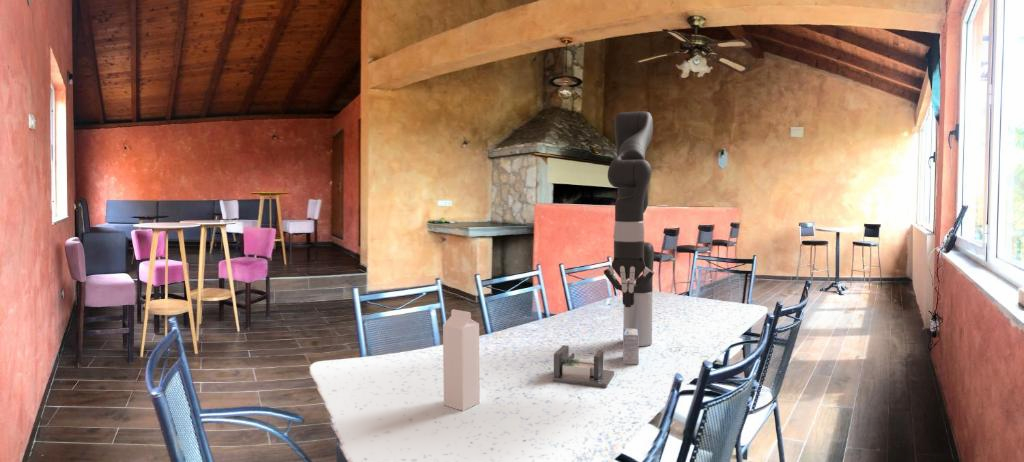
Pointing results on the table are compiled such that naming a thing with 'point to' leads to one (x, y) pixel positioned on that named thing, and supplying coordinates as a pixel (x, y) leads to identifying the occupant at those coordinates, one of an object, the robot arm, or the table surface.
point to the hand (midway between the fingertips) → (628, 306)
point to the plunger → (596, 368)
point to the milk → (461, 361)
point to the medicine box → (630, 346)
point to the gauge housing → (577, 371)
